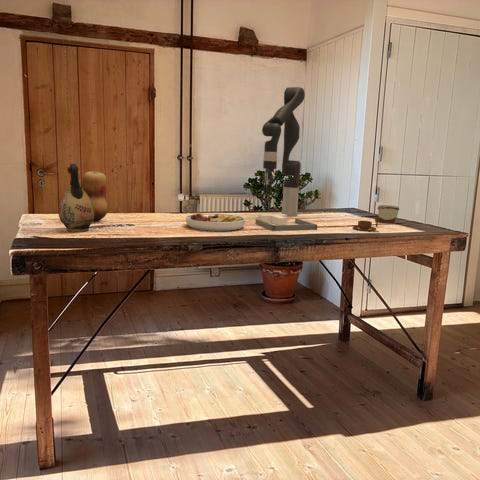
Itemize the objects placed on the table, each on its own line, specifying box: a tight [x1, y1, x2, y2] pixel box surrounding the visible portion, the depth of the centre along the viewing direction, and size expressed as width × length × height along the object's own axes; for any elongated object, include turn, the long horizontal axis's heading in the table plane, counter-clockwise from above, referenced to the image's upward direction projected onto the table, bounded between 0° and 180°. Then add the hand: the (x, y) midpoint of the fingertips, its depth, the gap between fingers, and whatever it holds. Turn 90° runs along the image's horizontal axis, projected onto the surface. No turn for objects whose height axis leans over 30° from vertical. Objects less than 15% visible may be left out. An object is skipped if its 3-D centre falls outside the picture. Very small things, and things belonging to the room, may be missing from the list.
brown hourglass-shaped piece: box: [81, 171, 108, 222], centre depth 240 cm, size 14×13×25 cm
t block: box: [258, 213, 288, 225], centre depth 259 cm, size 14×15×4 cm
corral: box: [255, 218, 318, 232], centre depth 249 cm, size 22×25×2 cm
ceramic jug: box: [57, 163, 95, 233], centre depth 213 cm, size 17×15×30 cm
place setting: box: [352, 216, 380, 233], centre depth 251 cm, size 18×20×6 cm
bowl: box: [185, 212, 247, 232], centre depth 240 cm, size 30×30×8 cm
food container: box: [377, 204, 400, 225], centre depth 277 cm, size 12×6×10 cm, turn 84°
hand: (268, 191), depth 268 cm, fingers closed
